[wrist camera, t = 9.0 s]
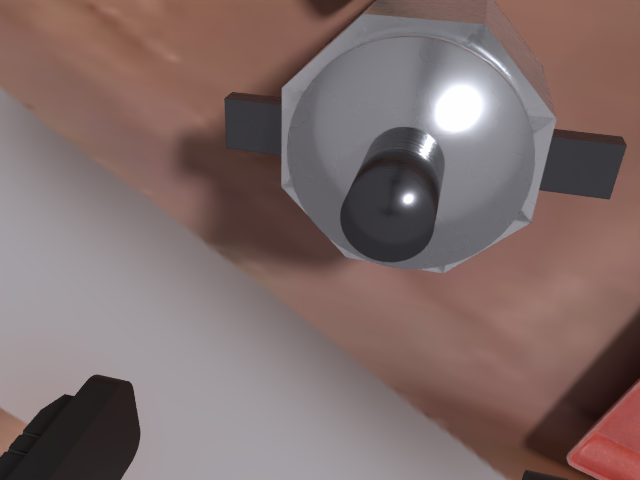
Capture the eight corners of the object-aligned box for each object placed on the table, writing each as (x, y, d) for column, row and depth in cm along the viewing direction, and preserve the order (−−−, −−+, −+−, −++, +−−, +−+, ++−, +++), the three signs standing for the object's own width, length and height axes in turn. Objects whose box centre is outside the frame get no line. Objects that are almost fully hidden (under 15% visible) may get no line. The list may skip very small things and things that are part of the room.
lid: (305, 13, 25) (242, 57, 19) (557, 36, 23) (580, 92, 17) (299, 224, 30) (249, 313, 24) (506, 256, 28) (509, 362, 22)
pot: (271, -25, 31) (210, 0, 24) (626, 2, 28) (668, 39, 21) (272, 172, 37) (222, 237, 30) (567, 214, 33) (585, 296, 27)
